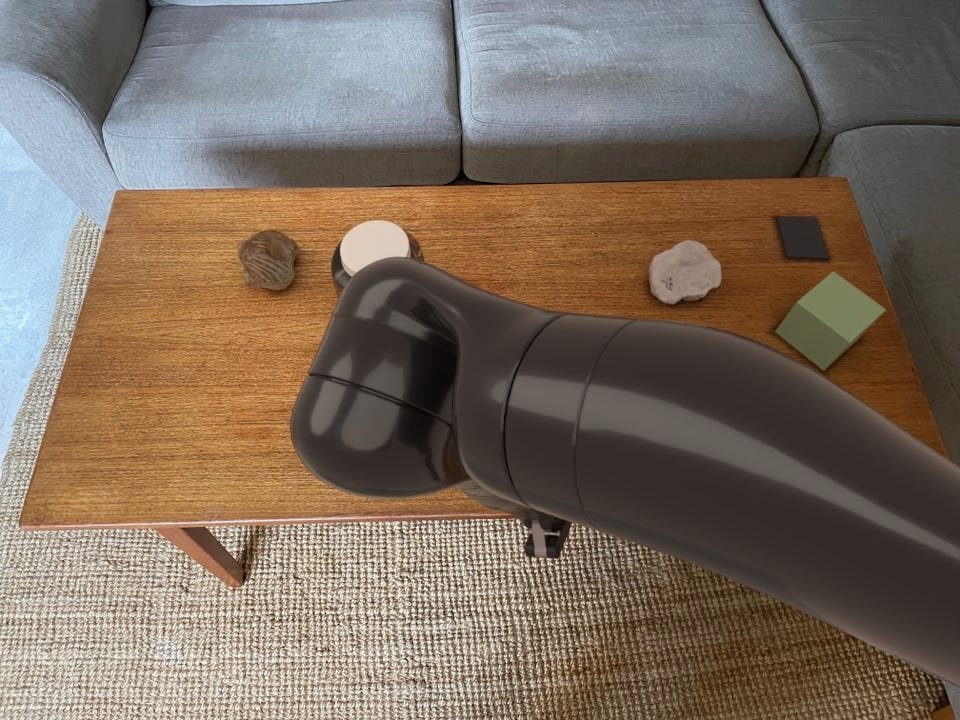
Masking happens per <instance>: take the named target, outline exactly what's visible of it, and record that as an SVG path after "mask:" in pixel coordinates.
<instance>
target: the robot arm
mask: <svg viewBox="0 0 960 720" xmlns="http://www.w3.org/2000/svg"><path fill="white" fill-rule="evenodd" d="M306 373H307V376H306V377H304V379H303V381H302V384H301V386H300V389H299V391H298V394H297V396H296V399H295V401H294V404H293V406H292V411H291V414H290V419H289V434H290V441H291V443H292V446H293V449H294V452H295V453H296V455H297V457H298V459H299V460H300V462H301V463H302V465H303V466H304V467H305V468H306V470H308V471H309V473H311V474H312V476H314V477H315V478H316V479H317V480H319V481H320V482H322V483H323V484H325V485H327V486H329V487H331V488H333V489H335V490H338V491H340V492H343V493H345V494H349V495H352V496H357V497H361V498H367V499H376V500H404V499H405V500H406V499H413V498H414V499H415V498H420V497H426V496H430V495H434V494H435V495H436V494H438V493H441V492H445V491H448V490H450V489H455V490H457V491H459V492H462V493H463V494H464V495H466V496H467V497H468V498H470V499H471V500H472V501H475V502H478V503H480V504H481V505H482V506H484V507H485V508H488V509H491V510H493V511H501V512H503V513H506V514H508V515H511V516H514V517H517V518H519V519H520V522H521V524H522V525H523V527H525V528H526V529H528V536H527V539H526V540H525V545H524V547H523V550H524V554H525V557H527V558H538V559H539V558H541V559H553V560H559V558H560V557H561V553H562V551H563V549H564V546H565V543H566V540H567V538H568V536H569V533H570V530H571V528H572V525H573V524H575V525H578V526H581V527H584V528H587V529H590V530H593V531H596V532H599V533H603V534H604V535H608V536H611V537H614V538H617V539H621V540H624V541H627V542H629V543H632V544H636V545H638V546H642V547H644V548H648V549H650V550H654V551H657V552H659V553H662V554H665V555H666V556H667V555H668V556H670V557H673V558H675V559H678V560H681V561H683V562H686V563H689V564H691V565H693V566H696V567H699V568H702V569H704V570H707V571H709V572H711V573H714V574H716V575H719V576H722V577H723V578H726V579H728V580H731V581H733V582H736V583H737V584H740V585H743V586H744V587H747V588H749V589H752V590H754V591H756V592H759V593H761V594H763V595H765V596H768V597H769V598H772V599H774V600H776V601H778V602H781V603H783V604H785V605H787V606H788V607H791V608H793V609H795V610H798V611H800V612H802V613H804V614H806V615H808V616H810V617H813V618H814V619H817V620H819V621H821V622H823V623H824V624H827V625H829V626H831V627H833V628H836V629H838V630H840V631H841V632H844V633H845V634H847V635H849V636H851V637H854V638H856V639H858V640H860V641H862V642H864V643H866V644H868V645H870V646H872V647H874V648H876V649H878V650H879V651H882V652H884V653H886V654H888V655H890V656H892V657H894V658H896V659H898V660H900V661H902V662H904V663H907V664H908V665H911V666H912V667H914V668H917V669H919V670H921V671H923V672H925V673H926V674H929V675H931V676H932V677H934V678H937V679H938V680H941V681H942V682H945V683H947V684H949V685H950V686H953V687H955V688H957V689H959V690H960V466H959V465H957V464H956V463H954V462H952V461H951V460H950V459H948V458H946V457H945V456H944V455H942V454H940V453H939V452H938V451H936V450H934V449H933V448H931V447H930V446H928V445H927V444H926V443H924V442H922V441H920V440H919V439H918V438H916V437H915V436H913V435H911V434H910V433H909V432H908V431H906V430H905V429H903V428H901V426H899V425H897V424H896V423H895V422H894V421H892V420H890V419H889V418H888V417H886V416H885V415H883V414H882V413H880V412H879V411H878V410H876V409H875V408H873V407H872V406H870V405H869V404H868V403H866V402H865V401H864V400H862V399H860V398H859V397H857V396H856V395H854V394H853V393H851V392H850V391H848V390H847V389H846V388H844V387H842V386H840V385H839V384H837V383H835V381H833V380H831V379H830V378H828V377H827V376H826V375H824V374H822V373H820V372H819V371H817V370H816V369H814V368H812V367H811V366H809V365H807V364H806V363H803V362H801V361H800V360H798V359H796V358H794V357H792V355H791V356H790V355H789V354H787V353H785V352H783V351H781V350H778V349H777V348H774V347H772V346H770V345H767V344H765V343H763V342H761V341H758V340H755V339H753V338H750V337H748V336H745V335H741V334H739V333H736V332H732V331H728V330H725V329H720V328H716V327H714V326H708V325H704V324H703V325H702V324H698V323H697V324H696V323H691V322H690V323H689V322H685V321H675V320H663V319H654V318H653V319H652V318H638V317H628V316H627V317H626V316H614V315H605V314H604V315H603V314H601V315H600V314H592V313H591V314H590V313H577V312H570V311H557V310H552V309H548V308H547V309H546V308H544V307H543V308H542V307H539V306H535V305H531V304H528V303H524V302H521V301H517V300H514V299H511V298H509V297H505V296H503V295H500V294H497V293H494V292H491V291H488V290H487V289H484V288H481V287H479V286H477V285H475V284H473V283H470V282H468V281H466V280H465V279H463V278H460V277H458V276H456V275H454V274H453V273H451V272H449V271H446V270H444V269H442V268H440V267H438V266H437V265H434V264H431V263H429V262H426V261H424V262H423V261H420V260H417V259H414V258H409V257H388V258H384V259H381V260H377V261H375V262H373V263H371V264H369V265H367V266H365V267H364V268H362V269H361V270H359V271H358V272H357V273H356V274H354V275H353V276H352V278H351V279H350V280H349V281H348V282H347V284H346V286H345V287H344V289H343V290H342V292H341V294H340V296H339V299H338V298H337V302H336V304H335V306H334V308H333V311H332V313H331V315H330V319H329V321H328V324H327V326H326V328H325V331H324V333H323V335H322V337H321V340H320V342H319V344H318V347H317V349H316V352H315V354H314V357H313V359H312V361H311V363H310V365H309V368H308V370H307V372H306Z"/></svg>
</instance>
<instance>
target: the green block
mask: <svg viewBox="0 0 960 720" xmlns="http://www.w3.org/2000/svg"><path fill="white" fill-rule="evenodd" d="M886 311H887V309H886V308H885V307H883V306H882V305H880V304H879V303H878V302H876V301H875V300H874V299H873V298H871V297H870V296H869V295H867V294H865V293H864V292H863V291H861V290H860V289H858V288H857V287H856V286H855V285H853V284H852V283H850V282H849V281H848V280H846V279H845V278H843V277H842V276H840V274H838V273H837V272H835V271H832V272H830V273H829V274H828V275H827V276H826V277H825V278H824V279H823V278H822V280H821V281H820V282H819V283H817V284H815V286H814V287H813V288H812V289H810V290H809V291H808V292H806V294H804V295H803V296H802V297H800V298H799V299H798V300H797V301H796V302H795V304H794V305H793V306H792V307H791V309H790V310H789V312H788V313H787V315H785V317H784V318H783V320H782V321H781V322H780V324H779V325H778V326H777V328H776V329H775V331H774V333H775V334H777V335H778V336H779V337H781V339H783V340H784V341H786V342H787V344H789V345H791V346H792V347H793V348H794V349H795V350H797V351H798V352H799V353H800V354H801V355H803V356H804V357H805V358H807V359H808V360H809V361H811V363H813V364H814V365H815V366H817V367H818V368H819V369H820V370H821V371H823V372H824V371H826V370H827V369H828V368H829V367H830V366H831V365H832V364H833V363H834V362H835V361H836V360H837V359H839V358H840V357H841V356H843V354H844V353H845V352H846V351H847V350H849V348H850V347H852V346H853V345H854V344H855V343H856V342H857V341H859V339H861V338H862V336H863V335H864V334H865V333H866V332H867V331H868V329H870V328H871V327H872V326H873V324H875V322H876V321H878V319H879V318H880V317H881V316H882V315H883V314H884V313H885V312H886Z"/></svg>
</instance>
